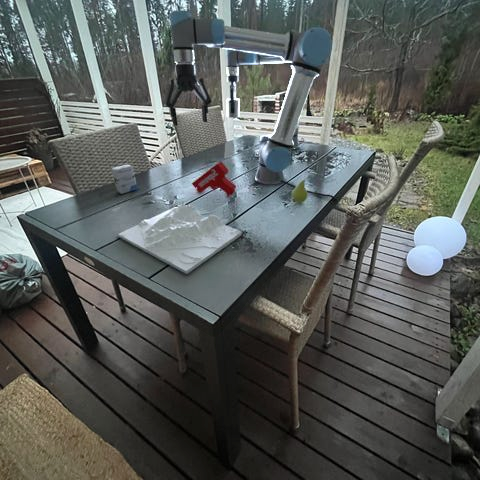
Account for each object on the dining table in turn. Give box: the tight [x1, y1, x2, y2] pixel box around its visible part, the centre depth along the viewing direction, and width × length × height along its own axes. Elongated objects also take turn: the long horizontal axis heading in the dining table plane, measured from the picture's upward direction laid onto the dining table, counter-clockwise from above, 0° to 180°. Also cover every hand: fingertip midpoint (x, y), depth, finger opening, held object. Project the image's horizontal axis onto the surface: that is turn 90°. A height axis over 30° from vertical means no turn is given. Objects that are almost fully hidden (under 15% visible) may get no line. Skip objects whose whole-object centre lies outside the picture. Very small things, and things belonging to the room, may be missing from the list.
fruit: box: [291, 174, 311, 204], centre depth 118 cm, size 7×8×12 cm
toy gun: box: [191, 161, 237, 197], centre depth 128 cm, size 18×4×15 cm
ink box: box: [110, 164, 138, 195], centre depth 131 cm, size 8×5×12 cm, turn 135°
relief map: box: [117, 202, 243, 275], centre depth 96 cm, size 27×35×5 cm
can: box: [226, 98, 241, 119], centre depth 191 cm, size 9×9×11 cm
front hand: (190, 123), depth 115 cm, fingers open, 13 cm apart
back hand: (233, 112), depth 192 cm, fingers closed on can, 9 cm apart
